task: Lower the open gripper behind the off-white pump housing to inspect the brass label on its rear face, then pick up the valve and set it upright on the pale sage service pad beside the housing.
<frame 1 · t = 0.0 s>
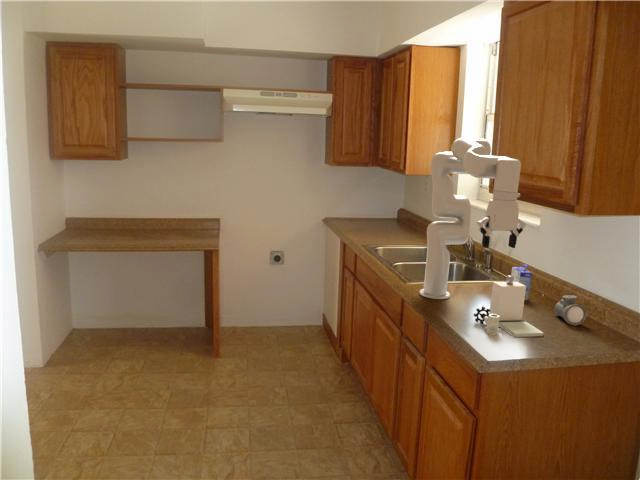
hand: (498, 247, 187), 31 cm above the worktop, fingers open, 9 cm apart
service pad: (520, 330, 199), on the worktop
pump housing: (504, 320, 209), on the worktop
ink cartridge box: (518, 297, 241), on the worktop
pipe fitting: (566, 320, 214), on the worktop
valve: (487, 329, 199), on the worktop
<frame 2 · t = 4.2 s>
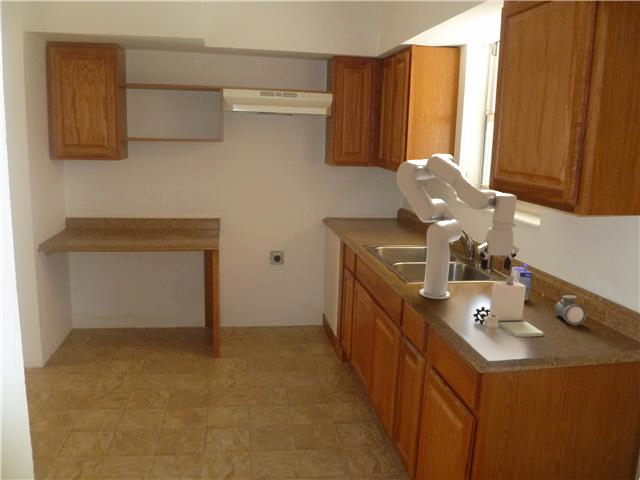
hand: (495, 269, 217), 17 cm above the worktop, fingers open, 9 cm apart
nothing on the worktop moved.
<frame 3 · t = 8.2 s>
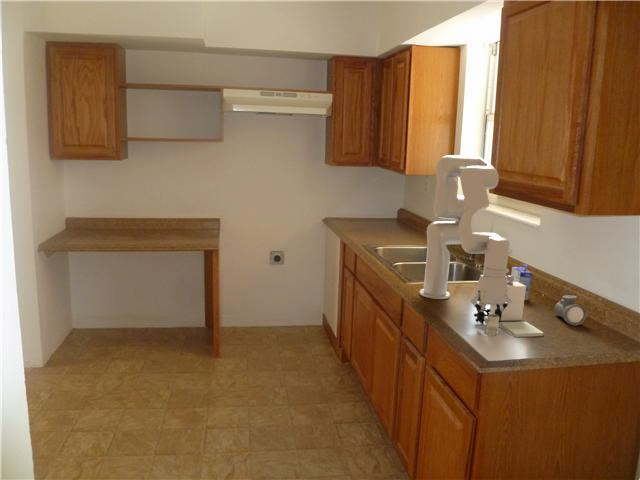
hand: (488, 320, 199), 3 cm above the worktop, fingers closed on valve, 5 cm apart
valve: (487, 330, 199), on the worktop, touching gripper
everything else where it was.
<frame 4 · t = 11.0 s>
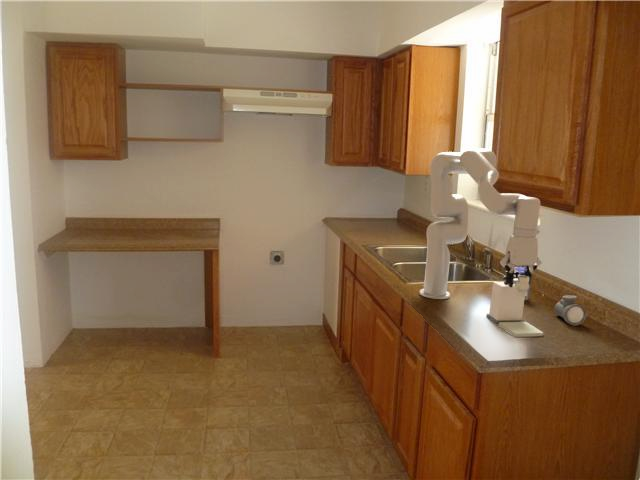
hand: (518, 282, 196), 18 cm above the worktop, fingers closed on valve, 5 cm apart
valve: (516, 292, 196), point 14 cm above the worktop, touching gripper
everything else where it was.
when the fingers open (5 cm above the worktop, at t = 14.0 s): valve drops 1 cm, resting on service pad.
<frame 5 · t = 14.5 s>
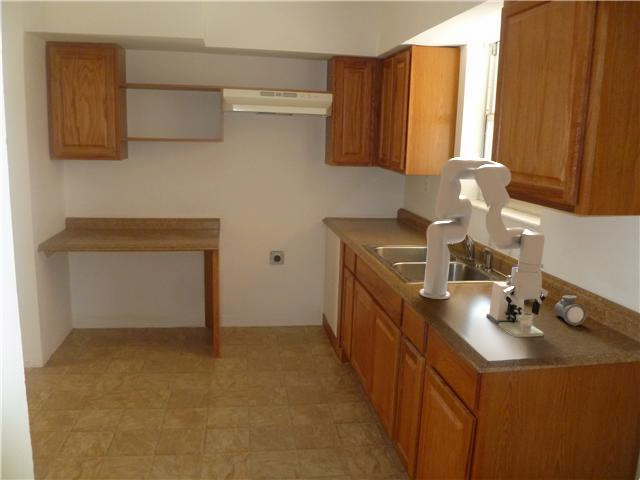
hand: (522, 313, 198), 6 cm above the worktop, fingers open, 9 cm apart
valve: (519, 328, 199), point 1 cm above the worktop, touching service pad
everything else where it was.
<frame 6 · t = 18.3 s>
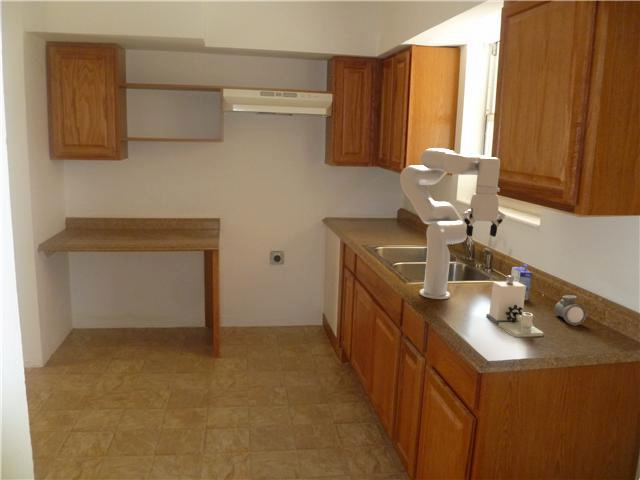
hand: (481, 235, 210), 30 cm above the worktop, fingers open, 9 cm apart
nothing on the worktop moved.
at the end: valve 0.5 cm off-centre on the service pad, point 1.0 cm above the service pad's base; the gripper is holding nothing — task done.
